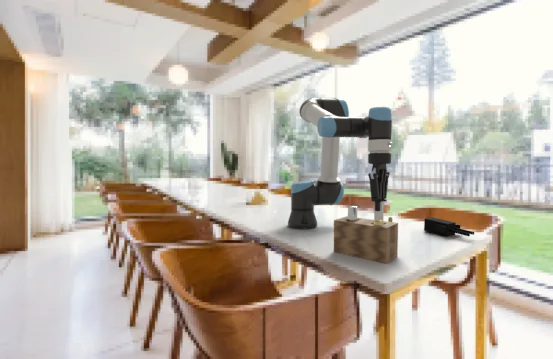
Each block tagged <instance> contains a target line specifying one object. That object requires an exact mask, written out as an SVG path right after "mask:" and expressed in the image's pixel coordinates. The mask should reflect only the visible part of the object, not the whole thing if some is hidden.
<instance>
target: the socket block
mask: <svg viewBox="0 0 553 359" xmlns="http://www.w3.org/2000/svg"><path fill="white" fill-rule="evenodd" d="M383 221H384V220H383ZM373 223H374V219H371V218H370V219H369V218H364V217H363V218H362V217H357V221H348V215H347V216H344V217H341V218H337V219H334V220H333V253H336V252H337V253H338V254H341V253H342V254H341V255H345V254H347V256H350V255H351V257H354V256H355V257H356V258H359V259H365V260H368V261H371V262H372V261H373V262H378V263H382V264H389V263H390V262H391V261H392V260H394V259H395V258H398V248H399V246H398V245H399V242H398V241H399V238H398V237H399V223H398V222H393V221H392V222H388V220H385V221H384V225H376V224H373ZM337 253H336V254H337ZM355 257H354V258H355Z"/></svg>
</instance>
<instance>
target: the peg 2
mask: <svg viewBox="0 0 553 359" xmlns="http://www.w3.org/2000/svg"><path fill="white" fill-rule="evenodd" d="M373 220H374V219H373ZM373 224H376V225H384V219H383V220H382V221H380V220H374V223H373Z"/></svg>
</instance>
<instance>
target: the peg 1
mask: <svg viewBox="0 0 553 359" xmlns="http://www.w3.org/2000/svg"><path fill="white" fill-rule="evenodd" d="M347 216H348V221H357V218H358V206H357V205H348V206H347Z"/></svg>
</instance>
